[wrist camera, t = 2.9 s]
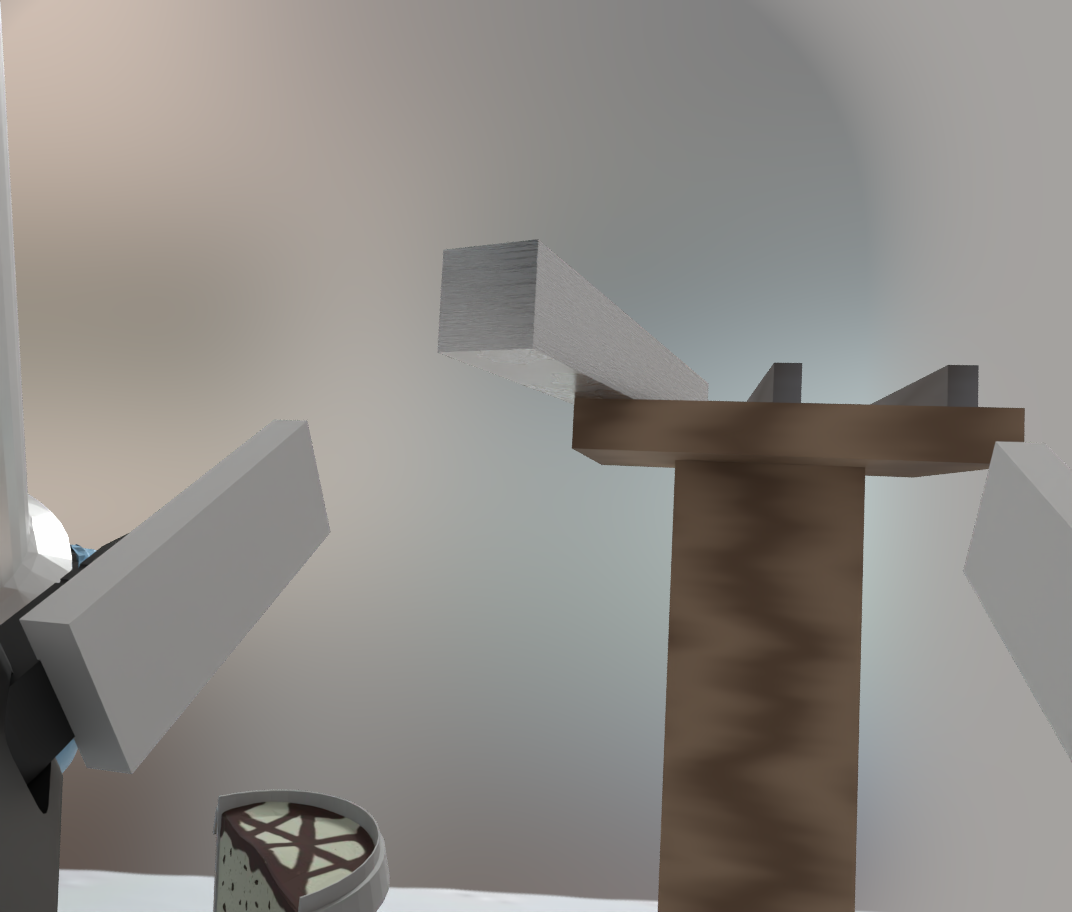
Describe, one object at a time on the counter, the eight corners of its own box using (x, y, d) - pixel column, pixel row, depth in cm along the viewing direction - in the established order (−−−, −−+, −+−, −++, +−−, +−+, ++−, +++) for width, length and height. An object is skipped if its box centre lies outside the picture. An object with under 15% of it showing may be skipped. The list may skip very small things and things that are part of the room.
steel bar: (437, 352, 21) (443, 249, 21) (655, 435, 43) (657, 384, 43) (533, 348, 19) (538, 239, 20) (706, 435, 41) (708, 383, 41)
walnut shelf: (536, 1201, 27) (576, 360, 29) (578, 988, 39) (604, 402, 40) (1014, 1315, 24) (1024, 366, 26) (901, 1046, 36) (914, 409, 37)
